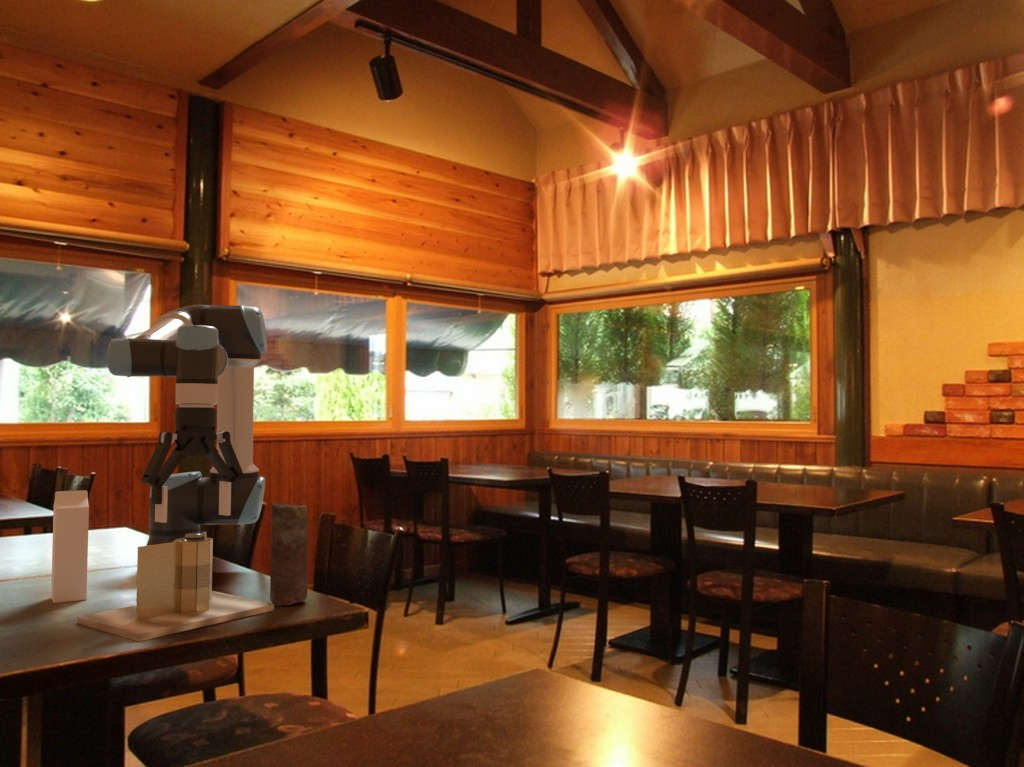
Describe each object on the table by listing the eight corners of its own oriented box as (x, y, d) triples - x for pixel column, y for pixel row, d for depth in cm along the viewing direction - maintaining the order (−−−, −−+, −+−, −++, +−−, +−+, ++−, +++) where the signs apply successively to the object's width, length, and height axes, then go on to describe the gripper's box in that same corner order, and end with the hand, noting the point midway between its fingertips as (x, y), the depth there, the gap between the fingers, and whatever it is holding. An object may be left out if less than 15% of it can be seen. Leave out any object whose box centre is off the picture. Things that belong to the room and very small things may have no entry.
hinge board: (211, 596, 175) (211, 590, 175) (274, 610, 163) (274, 604, 163) (77, 623, 152) (77, 616, 152) (138, 641, 140) (138, 634, 140)
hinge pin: (195, 605, 161) (198, 532, 162) (206, 608, 159) (209, 533, 160) (178, 608, 158) (181, 534, 159) (189, 611, 156) (192, 535, 157)
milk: (86, 600, 171) (90, 491, 171) (52, 603, 167) (56, 492, 168) (83, 594, 176) (86, 488, 176) (50, 597, 172) (53, 490, 173)
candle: (268, 600, 172) (270, 502, 173) (304, 597, 175) (306, 501, 175) (271, 608, 165) (273, 506, 166) (309, 605, 168) (311, 504, 168)
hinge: (203, 595, 170) (205, 531, 170) (238, 603, 163) (239, 536, 164) (112, 613, 154) (114, 542, 155) (147, 623, 148) (149, 548, 148)
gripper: (239, 407, 172) (237, 510, 172) (122, 405, 152) (119, 523, 151) (262, 407, 168) (260, 513, 167) (146, 405, 148) (143, 526, 147)
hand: (193, 518), depth 159 cm, fingers open, 13 cm apart
